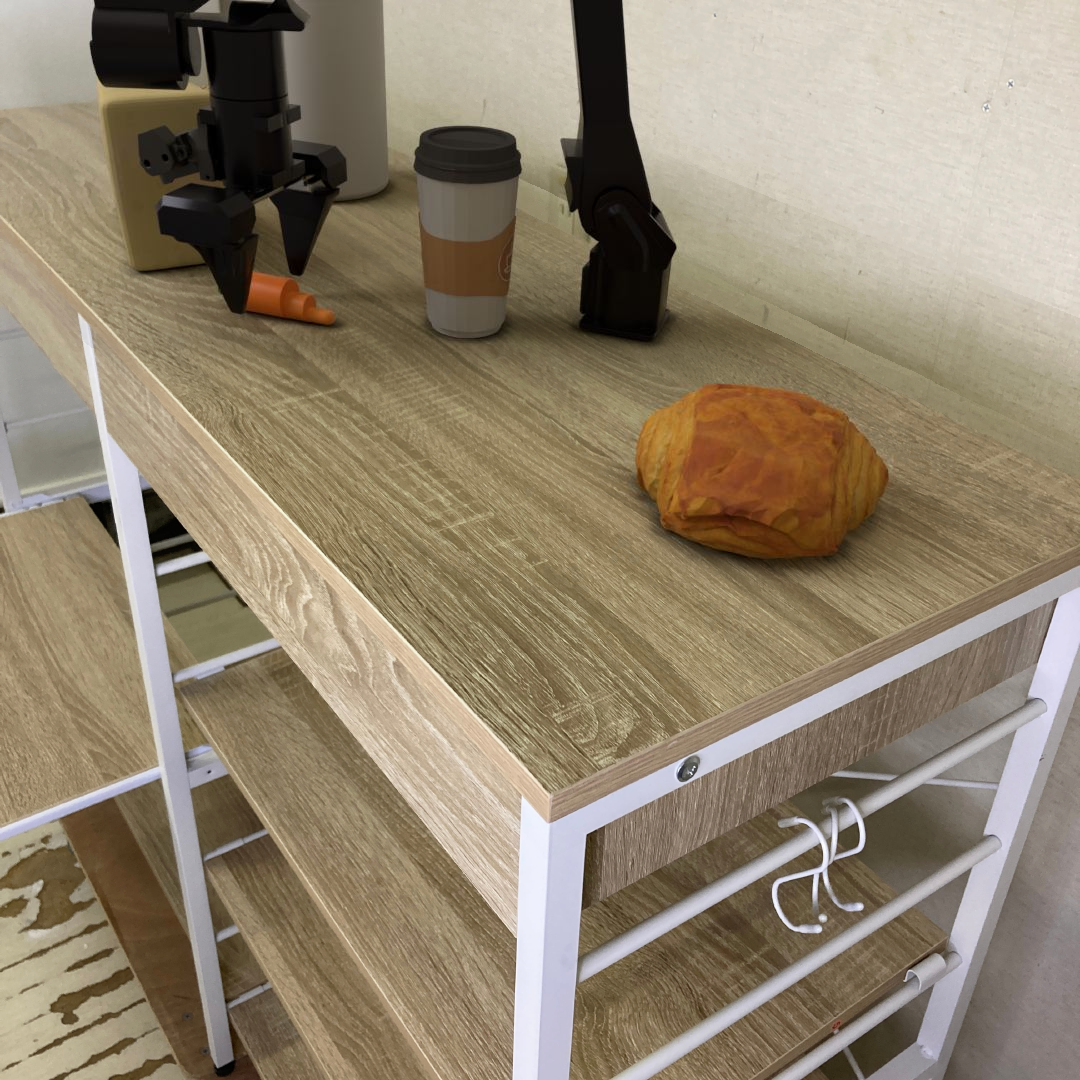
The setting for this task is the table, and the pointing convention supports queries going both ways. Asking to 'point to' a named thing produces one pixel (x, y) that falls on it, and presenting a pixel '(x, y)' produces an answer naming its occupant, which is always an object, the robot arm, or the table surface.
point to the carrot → (284, 300)
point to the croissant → (759, 471)
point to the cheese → (130, 182)
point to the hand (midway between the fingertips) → (268, 293)
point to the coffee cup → (467, 225)
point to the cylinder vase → (342, 87)
